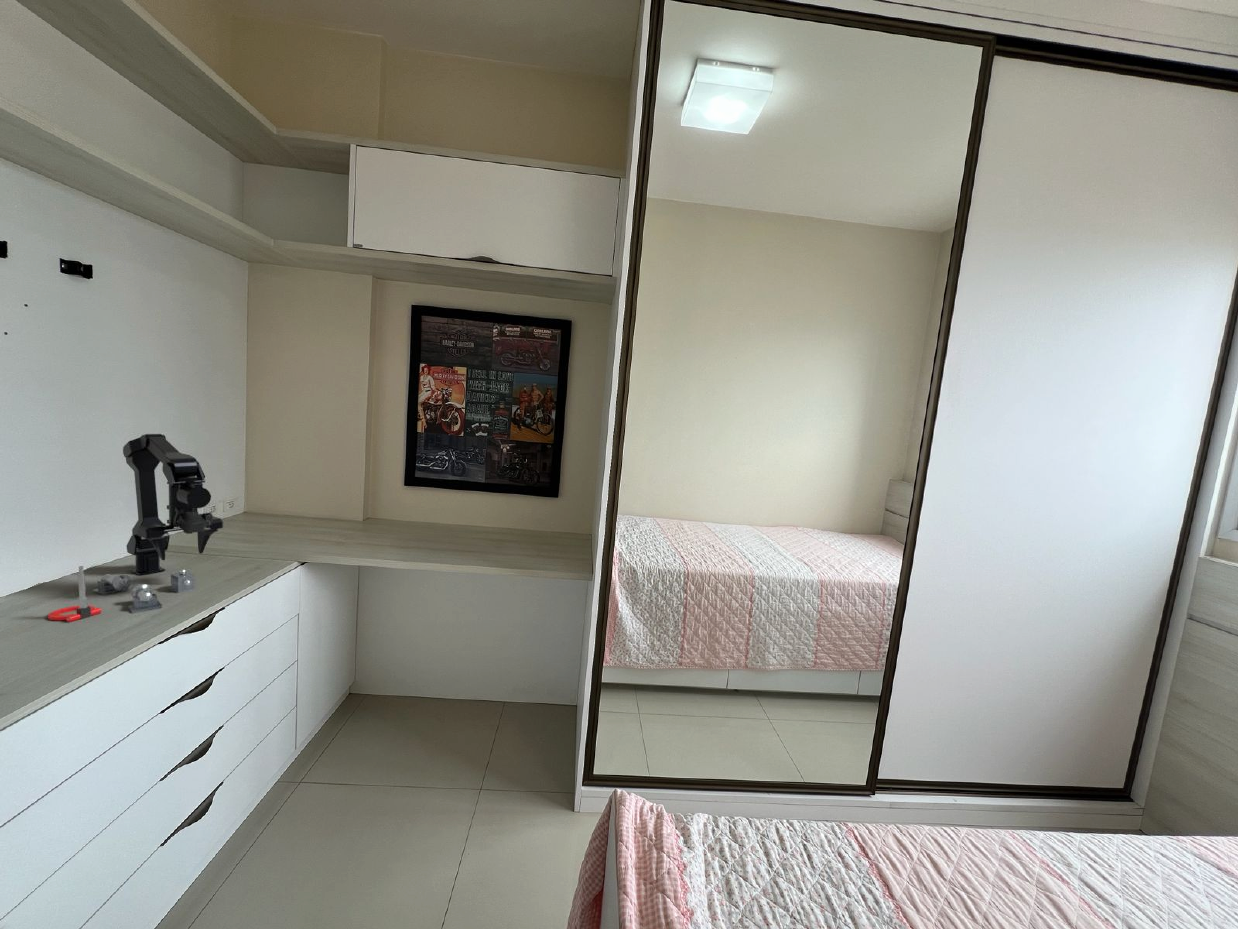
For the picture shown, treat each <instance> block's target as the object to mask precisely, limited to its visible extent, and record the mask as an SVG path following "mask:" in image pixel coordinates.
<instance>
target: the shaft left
mask: <svg viewBox="0 0 1238 929" xmlns="http://www.w3.org/2000/svg"><path fill="white" fill-rule="evenodd" d="M131 585H132V578H131V576H130V575H128V574H122V573H121V574H119V575H118V574H117V575H114V574H109V573H107V574H104V575H102V576H101V578H100V580H98V581H97V588H95V589H92V590H91V592H92V593H93V594H98V595H101V596H106V595H109V594H112V593H116V592H120V591H121V592H122V591H125V590H127V589H129V587H130V586H131Z"/></svg>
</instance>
